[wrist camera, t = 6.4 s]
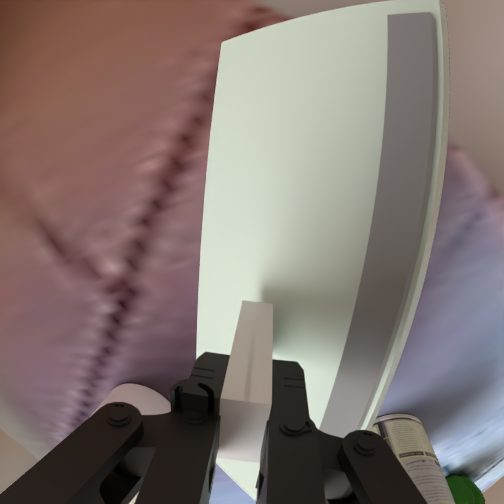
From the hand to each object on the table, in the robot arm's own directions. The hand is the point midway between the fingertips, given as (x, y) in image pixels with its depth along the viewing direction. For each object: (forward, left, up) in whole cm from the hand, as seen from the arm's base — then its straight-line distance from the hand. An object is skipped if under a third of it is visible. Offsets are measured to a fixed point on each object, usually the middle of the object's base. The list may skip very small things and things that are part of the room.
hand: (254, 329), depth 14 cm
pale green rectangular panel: (+1, 0, -1) cm, 1 cm away
